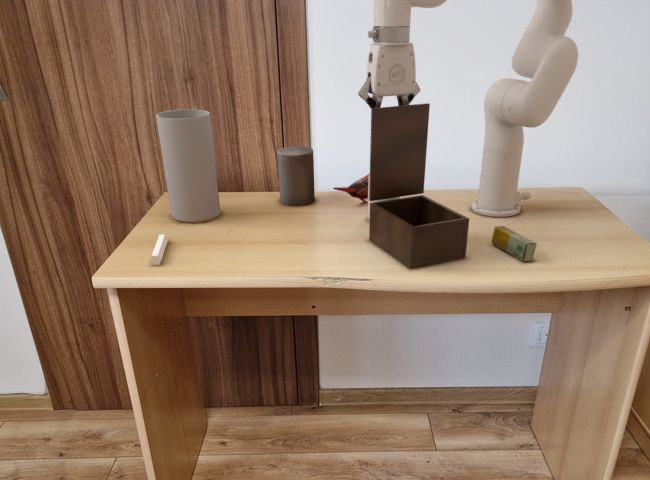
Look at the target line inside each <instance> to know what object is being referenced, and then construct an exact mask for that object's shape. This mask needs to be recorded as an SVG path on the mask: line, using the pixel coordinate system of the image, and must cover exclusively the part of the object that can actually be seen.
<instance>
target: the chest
mask: <svg viewBox="0 0 650 480" xmlns="http://www.w3.org/2000/svg"><path fill="white" fill-rule="evenodd" d="M469 225H470V218H469V217H467V216H465V215H463V214H462V213H460V212H457V211H456V210H454V209H452V208H450V207H448V206H446V205H443V204H442V203H440V202H437V201H435V200H434V199H432V198H429V197H427V196H425V195H423V194H419V195H412V196H405V197H400V198H399V199H393V200H386V201H379V202H372V203H370V221H369V234H368V235H369V238H368V239H369V242H371V243H372V244H374V245H375V246H377V247H378V248H379V249H381V250H382V251H384V252H385V253H387V254H388V255H389V256H391V257H392V258H393V259H395V260H396V261H398V262H399V263H401V264H402V265H403V266H405V267H406V268H408V269H409V270H413V269H417V268H422V267H427V266H432V265H439V264H442V263H443V264H444V263H449V262H453V261H454V262H455V261H458V260H462V259H466V256H467V247H468V245H467V244H468V235H469Z"/></svg>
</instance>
